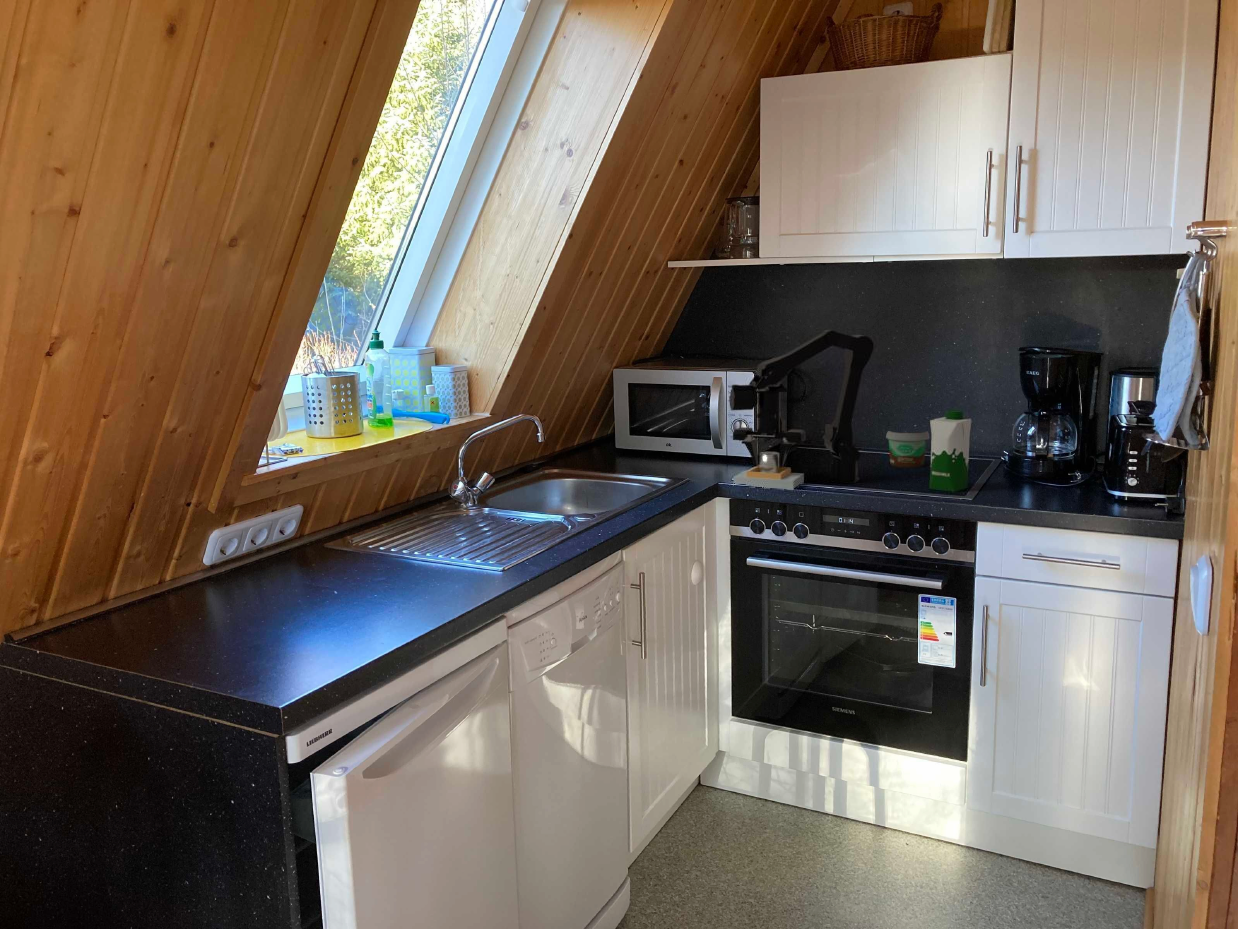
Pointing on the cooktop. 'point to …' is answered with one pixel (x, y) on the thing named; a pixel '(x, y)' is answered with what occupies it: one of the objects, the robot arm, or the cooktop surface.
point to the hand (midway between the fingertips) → (769, 466)
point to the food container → (907, 448)
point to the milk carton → (950, 452)
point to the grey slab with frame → (770, 478)
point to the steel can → (769, 462)
